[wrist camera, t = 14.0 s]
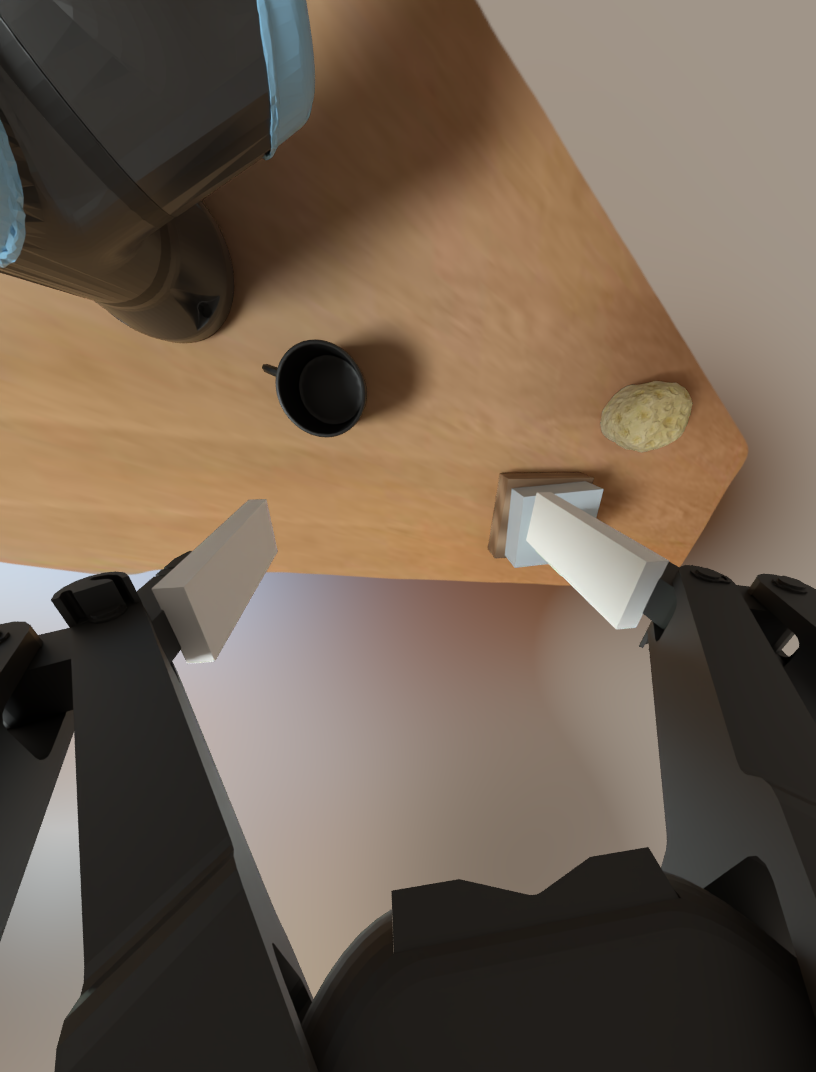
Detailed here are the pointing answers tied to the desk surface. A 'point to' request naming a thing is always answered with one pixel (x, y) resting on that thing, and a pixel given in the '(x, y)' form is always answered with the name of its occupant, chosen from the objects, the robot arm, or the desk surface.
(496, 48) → the desk surface
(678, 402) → the decorative item
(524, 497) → the top slab
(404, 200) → the desk surface
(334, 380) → the mug
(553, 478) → the bottom slab
